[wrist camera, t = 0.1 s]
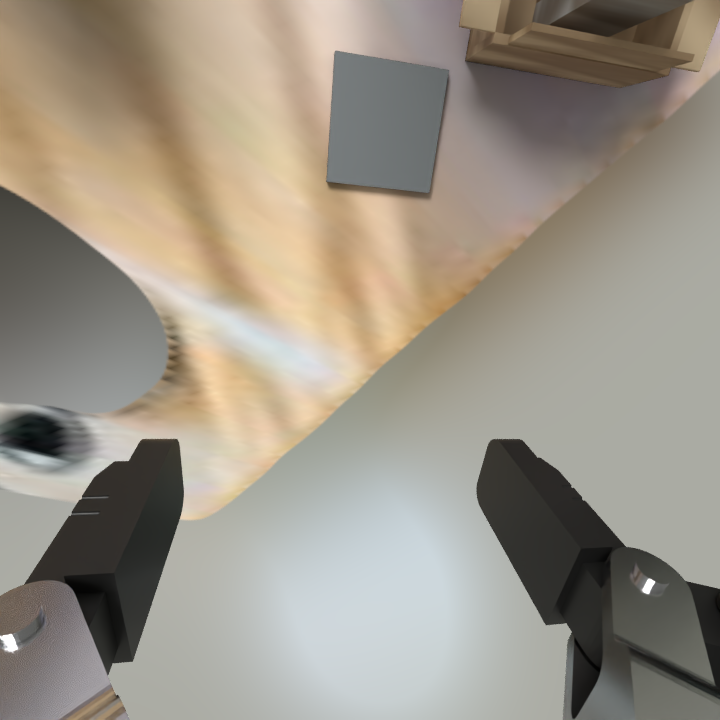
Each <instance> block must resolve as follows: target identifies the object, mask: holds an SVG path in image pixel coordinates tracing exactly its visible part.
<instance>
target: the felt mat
mask: <svg viewBox="0 0 720 720" xmlns="http://www.w3.org/2000/svg"><path fill="white" fill-rule="evenodd" d="M448 73H449V70H446V69H440V68H435V67H429V66H423V65H417V64H411V63H405V62H399V61H393V60H387V59H382V58H376V57H370V56H364V55H358V54H352V53H346V52H340V51H335V54H334V70H333V85H332V101H331V117H330V133H329V148H328V164H327V180H326V182H334V183H343V184H352V185H361V186H370V187H379V188H388V189H397V190H406V191H415V192H424V193H429V191H430V185H431V179H432V172H433V166H434V160H435V154H436V148H437V141H438V135H439V129H440V123H441V117H442V110H443V104H444V98H445V92H446V85H447V79H448Z"/></svg>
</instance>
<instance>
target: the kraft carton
mask: <svg viewBox="0 0 720 720" xmlns="http://www.w3.org/2000/svg"><path fill="white" fill-rule="evenodd" d="M536 1H537V0H463V5H462V11H461V17H460V23H459V27H462V28H468V29H471V30H470V36H469V42H468V47H467V53H466V59H465V61H468V62H474V63H480V64H486V65H491V66H497V67H503V68H508V69H514V70H520V71H526V72H531V73H537V74H543V75H548V76H554V77H560V78H566V79H571V80H577V81H583V82H588V83H594V84H600V85H605V86H611V87H617V88H622V87H626V86H630V85H634V84H637V83H641V82H645V81H649V80H653V79H657V78H661V77H665V76H668V75H669V72H670V69H671V67H672V68H677V69H683V70H688V71H693V72H699V71H700V69H701V67H702V64H703V61H704V59H705V56H706V53H707V51H708V48H709V45H710V43H711V40H712V37H713V35H714V32H715V29H716V27H717V24H718V21H719V18H720V0H694V1H691V2H689V3H687V4H684V5H682V6H680V7H677V8H675V9H673V10H670V11H668V12H666V13H663V14H661V15H659V16H656V17H654V18H652V19H649V20H647V21H645V22H642V23H640V24H638V25H635V26H633V27H631V28H628V29H626V30H624V31H621V32H619V33H617V34H615V35H612V36H610V37H605V36H600V35H595V34H590V33H585V32H580V31H575V30H570V29H565V28H560V27H555V26H550V25H545V24H540V23H535V22H532V19H533V15H534V10H535V6H536Z"/></svg>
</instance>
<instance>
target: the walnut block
mask: <svg viewBox="0 0 720 720" xmlns="http://www.w3.org/2000/svg"><path fill="white" fill-rule="evenodd" d="M691 1H694V0H537V1H536V6H535V10H534V15H533V19H532V22H535V23H540V24H545V25H550V26H555V27H560V28H565V29H570V30H575V31H580V32H585V33H590V34H595V35H600V36H605V37H610V36H612V35H615V34H617V33H619V32H621V31H624V30H626V29H628V28H631V27H633V26H635V25H638V24H640V23H642V22H645V21H647V20H649V19H652V18H654V17H656V16H659V15H661V14H663V13H666V12H668V11H670V10H673V9H675V8H677V7H680V6H682V5H684V4H687V3H689V2H691Z"/></svg>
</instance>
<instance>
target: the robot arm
mask: <svg viewBox="0 0 720 720" xmlns="http://www.w3.org/2000/svg"><path fill="white" fill-rule="evenodd" d="M183 498H184V487H183V477H182V467H181V456H180V446H179V442H178V440H177V439H142V440H141V441H140V442H139V444H138V446H137V448H136V449H135V451H134V453H133V455H132V456H131V458H130V460H129V461H115V462H113V463H112V464H111V465H109V466H108V467H107V468H106V469H104V470H103V471H102V472H100V473H99V474H98V475H97V476H95V477H94V478H93V480H92V482H91V483H90V485H89V486H88V488H87V489H86V491H85V492H84V494H83V495H82V499H81V500H79V501H78V503H77V505H76V506H75V508H74V509H73V511H72V515H71V516H69V517H68V518H67V520H66V521H65V523H64V525H63V526H62V527H61V529H60V531H59V532H58V534H57V535H56V537H55V538H54V540H53V541H52V543H51V544H50V546H49V547H48V549H47V551H46V552H45V554H44V555H43V557H42V558H41V560H40V561H39V563H38V564H37V566H36V567H35V569H34V570H33V572H32V574H31V575H30V577H29V578H28V580H27V581H26V582H25V584H24V585H22V586H19V587H17V588H15V589H12V590H10V591H8V592H6V593H4V594H3V595H1V596H0V720H129V717H128V715H127V713H126V710H125V708H124V706H123V704H122V701H121V699H120V697H119V696H118V695H117V696H116V694H115V692H114V690H113V688H112V685H111V683H110V680H109V678H108V674H109V671H110V669H111V666H112V663H121V662H132V661H133V659H134V656H135V653H136V650H137V647H138V644H139V641H140V638H141V635H142V632H143V629H144V626H145V623H146V619H147V617H148V613H149V611H150V608H151V605H152V601H153V598H154V595H155V592H156V589H157V586H158V583H159V580H160V577H161V574H162V571H163V568H164V565H165V561H166V559H167V556H168V553H169V550H170V547H171V543H172V540H173V538H174V534H175V531H176V528H177V525H178V522H179V519H180V516H181V512H182V507H183ZM477 498H478V502H479V505H480V507H481V509H482V511H483V513H484V515H485V516H486V518H487V520H488V522H489V524H490V526H491V527H492V529H493V531H494V533H495V534H496V536H497V538H498V540H499V542H500V543H501V545H502V547H503V549H504V550H505V552H506V554H507V556H508V558H509V560H510V561H511V563H512V565H513V567H514V569H515V570H516V572H517V574H518V576H519V577H520V579H521V581H522V583H523V585H524V586H525V588H526V590H527V592H528V594H529V595H530V597H531V599H532V601H533V603H534V605H535V606H536V608H537V610H538V612H539V613H540V615H541V617H542V619H543V621H544V623H545V624H546V625H552V624H563V623H567V625H568V626H569V628H570V629H571V631H572V633H571V635H570V637H569V639H568V644H567V660H566V676H565V695H564V709H563V720H720V589H717V588H713V587H709V586H704V585H700V584H696V583H691V582H687V581H685V580H684V579H683V578H682V577H681V576H680V574H679V573H677V572H676V571H675V570H674V569H673V568H672V567H671V566H670V565H668V564H667V563H666V562H664V561H662V560H661V559H659V558H658V557H656V556H654V555H652V554H650V553H648V552H645V551H643V550H640V549H636V548H631V547H626V546H625V545H624V544H623V543H622V542H621V541H620V540H619V538H617V536H616V535H615V534H614V533H613V532H612V531H611V529H610V528H609V527H608V526H607V525H606V524H605V523H604V522H603V520H602V519H601V518H600V517H599V516H598V515H597V514H596V512H595V511H594V510H593V509H592V508H591V507H590V506H589V505H588V503H587V502H586V501H583V500H582V497H581V495H579V493H578V492H577V491H576V490H575V489H574V488H571V484H570V483H569V482H568V481H567V480H566V479H565V478H564V476H563V475H562V474H561V473H560V472H559V471H558V470H557V469H556V468H554V467H553V466H551V465H549V464H548V463H547V462H545V461H544V460H543V459H541V458H537V457H536V455H535V454H534V453H533V452H532V451H531V450H530V449H529V447H528V446H527V445H526V444H525V443H524V442H523V441H522V440H520V439H493V440H491V441H490V443H489V444H488V447H487V451H486V454H485V458H484V461H483V465H482V468H481V472H480V475H479V479H478V482H477Z"/></svg>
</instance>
